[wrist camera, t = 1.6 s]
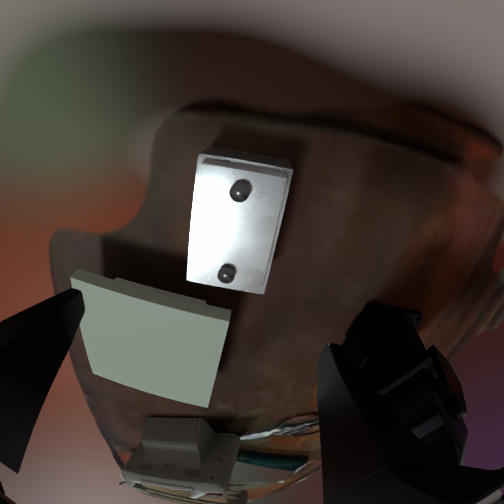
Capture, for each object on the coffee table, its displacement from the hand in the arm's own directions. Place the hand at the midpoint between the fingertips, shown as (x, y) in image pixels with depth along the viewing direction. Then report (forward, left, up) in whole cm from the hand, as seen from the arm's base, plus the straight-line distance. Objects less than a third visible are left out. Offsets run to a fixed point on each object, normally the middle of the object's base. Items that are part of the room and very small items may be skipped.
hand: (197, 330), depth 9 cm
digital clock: (+1, +34, -11) cm, 36 cm away
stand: (+5, +12, -11) cm, 17 cm away
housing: (0, 0, -11) cm, 11 cm away
